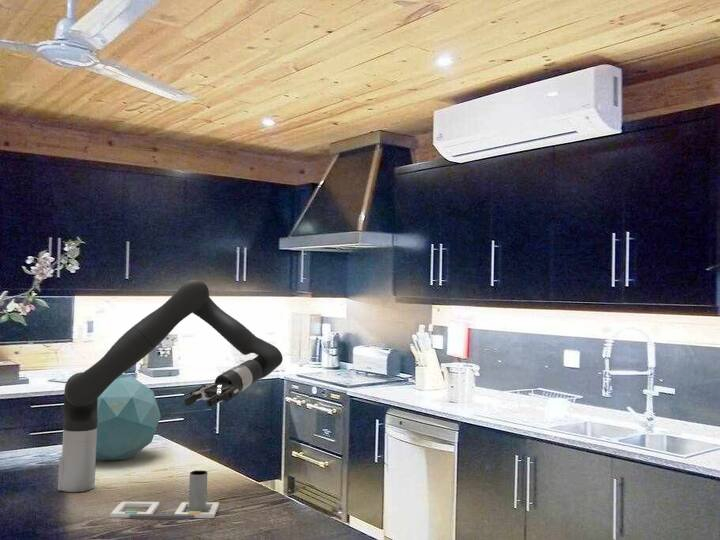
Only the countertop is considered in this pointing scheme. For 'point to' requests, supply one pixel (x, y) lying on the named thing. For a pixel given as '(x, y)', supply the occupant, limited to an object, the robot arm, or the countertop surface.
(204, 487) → the planter
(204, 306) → the robot arm
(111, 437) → the sculpture
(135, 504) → the socket
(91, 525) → the countertop surface
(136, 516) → the thin gray bar
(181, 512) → the socket
